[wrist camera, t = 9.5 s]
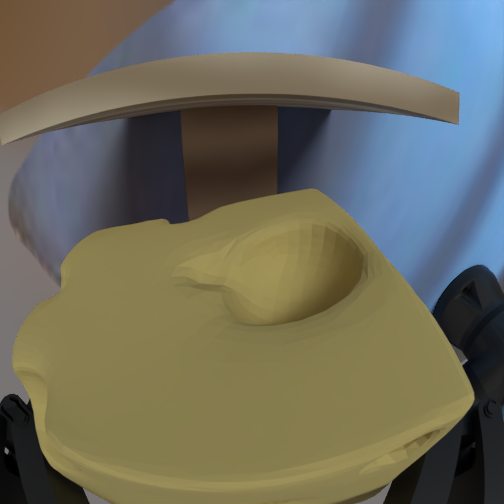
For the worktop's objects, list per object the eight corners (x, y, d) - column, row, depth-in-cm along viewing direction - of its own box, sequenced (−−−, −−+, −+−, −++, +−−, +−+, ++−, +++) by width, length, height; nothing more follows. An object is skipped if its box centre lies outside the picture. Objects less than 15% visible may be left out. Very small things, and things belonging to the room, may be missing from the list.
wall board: (325, 219, 30) (403, 337, 14) (144, 225, 29) (70, 347, 13) (331, 68, 22) (456, 34, 6) (129, 76, 21) (0, 58, 5)
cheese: (91, 227, 11) (-43, 408, 2) (331, 175, 11) (525, 377, 2) (167, 372, 16) (146, 517, 7) (335, 348, 16) (382, 500, 7)
